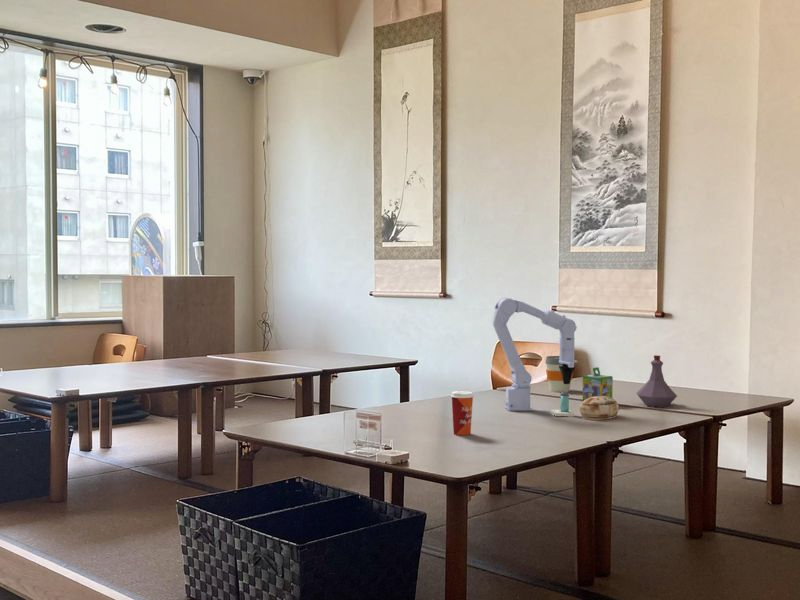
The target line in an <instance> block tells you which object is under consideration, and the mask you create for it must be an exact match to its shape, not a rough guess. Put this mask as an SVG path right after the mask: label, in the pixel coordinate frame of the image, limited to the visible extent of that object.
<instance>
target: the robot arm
mask: <svg viewBox="0 0 800 600" xmlns="http://www.w3.org/2000/svg"><path fill="white" fill-rule="evenodd" d="M515 313H517V314H518V313H526V314H528V315H530V316H532V317H535V318H538V319H539V320H540V321H541V323H542V324H543V325H545V326H547V327H550V328H552V329H554V330H558V331H559V352H558V353H559V355H558V356H559V363H560V364H563V365H562V366H559V369H560V371H561V374H562V379H563V383H564V384H570V380H571V376H572V373H573V374H574V371H575V368H576V367H575V363H578V360H576V359H575V332H576V331H577V327H578V326H577V325H576V322H575V321H574V320H573V319H570V318H567V316H566V315H561V314H559V313H557V312H556V311H555V310H553V309H551V310H550V309H547V310H545V311H543V310H541V309H539V308H537V307H536V306H535V307H534V306H532V305H530V304H529V303H526V302H523V301H521V300H520V301H519V300H517V299H512V298H507V297H501V298H499V299H498V300H497V303H496V304H495V306H494V314H493V318H492V326H493V328H494V331H495V333H496V335H497V338H498V340H499V343H500V345H501V348H502V350H503V352H504V356H505V358H506V359H507V362H508V365H509V370H510V373H511V374H510V379H511V381H512V382H513V383H512V384H511V386H507V387H505V406H504V407H505V409H506V410H507V411H509V412H512V411H513V412H515V411H516V412H517V411H525V412H526V411H531V412H533V410H534V409H533V408H532V407H531V385H530V384H531V382H532V375H531V373H530V372H528V371H527V369H526V367H525V365H524V364H523V362H522V360H521V358H520V355H519V352H518V349H517V347H516V345H515V343H514V340H513V338H512V336H511V332H510V330H509V328H508V325H507V324H508V321H509V320H510V318H511V317H512V316H513V315H514V314H515ZM572 377H573V376H572ZM571 381H572V380H571ZM570 385H571V384H570Z"/></svg>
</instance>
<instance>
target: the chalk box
mask: <svg viewBox="0 0 800 600" xmlns="http://www.w3.org/2000/svg"><path fill="white" fill-rule="evenodd" d="M592 371H593V374H588V375H582V402H583V401H584V400H586V399H587V398H589V397H593V396H607V397H610V398H612V399H613V382H614V380H613V378H614V377H613V376H612V375H604V374H601V372H600V367H598V366H597V367H593V368H592ZM596 371H597V373H596Z"/></svg>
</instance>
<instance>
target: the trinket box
mask: <svg viewBox="0 0 800 600" xmlns="http://www.w3.org/2000/svg"><path fill="white" fill-rule="evenodd" d="M619 408H620V407H619V403H618V401H616V400H615V399H614V398H613V397H612V398H610V397H607V396H593V397H589V398H587V399H586V400H584V401H583V400H582V403H581V404H580V406H579V412H580V415H581V418H582V419H584V418H585V419H584V420H593V421H598V420H599V421H600V420H602V421H603V420H610V419H615V418H616V417H617V414H618V413H619Z"/></svg>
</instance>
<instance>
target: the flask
mask: <svg viewBox="0 0 800 600" xmlns="http://www.w3.org/2000/svg"><path fill="white" fill-rule="evenodd" d="M650 364H651V367H652V368H651V371H650V372H651V373H650V375H649V379H648V380H647V382H646V383H645V384H644V385H643V386H642V387H641V388H640V389H639V390H638V391H637V392H636V393H635V394H636V395H637V396H638V398H639V399H640V400H641V402H642V403H643V404H644V405H645V406H646V405H648V406H647V407H652V406H665V407H668V406H670V405H671V404H672V402H673V401H674V400H676V398H677V397H678V395H677V394H676V393H675V392H674V390H672V388H670V386H669V384H668V383H667V382H666V380H665V378H664V374H663V370H662V369H663V368H662V367H663V365H664V362H663V361H662V360H661V355H656V354H655V355H653V360H651V361H650Z"/></svg>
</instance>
